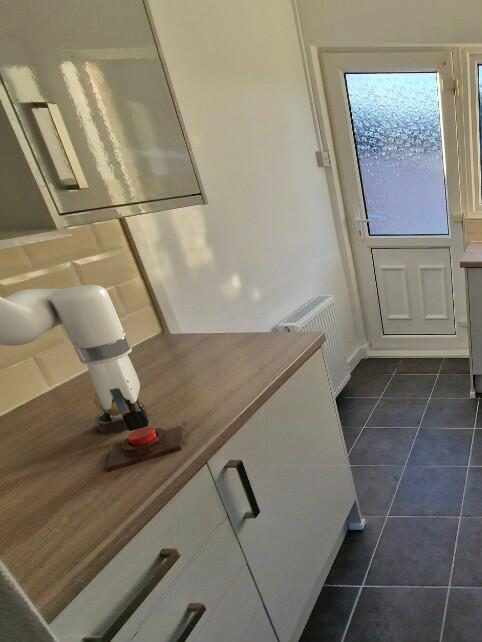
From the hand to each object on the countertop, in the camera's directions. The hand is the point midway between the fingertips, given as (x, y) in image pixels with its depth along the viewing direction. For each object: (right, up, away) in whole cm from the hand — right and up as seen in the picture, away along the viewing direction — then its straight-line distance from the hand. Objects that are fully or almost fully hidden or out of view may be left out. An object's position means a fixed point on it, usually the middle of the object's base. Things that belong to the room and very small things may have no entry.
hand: (139, 426), depth 88 cm
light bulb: (-12, -2, +10) cm, 16 cm away
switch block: (0, -6, +2) cm, 6 cm away
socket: (-12, -2, +10) cm, 16 cm away
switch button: (0, -3, +1) cm, 3 cm away
